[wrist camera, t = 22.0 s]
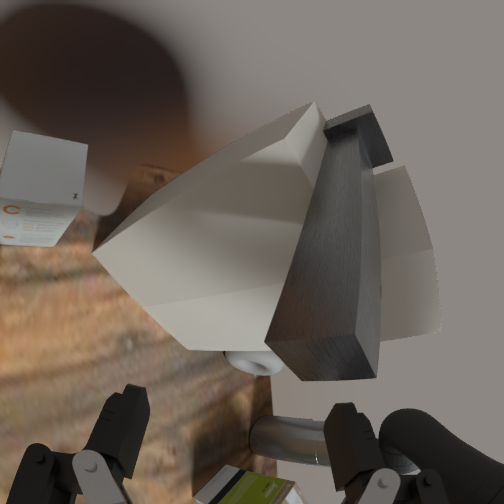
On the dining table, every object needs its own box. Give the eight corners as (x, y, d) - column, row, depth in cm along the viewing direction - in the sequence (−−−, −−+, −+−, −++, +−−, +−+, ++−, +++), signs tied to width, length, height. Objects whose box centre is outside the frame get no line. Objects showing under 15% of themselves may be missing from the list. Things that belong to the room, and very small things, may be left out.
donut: (250, 361, 49) (296, 361, 43) (245, 377, 47) (291, 379, 41) (217, 336, 44) (265, 334, 38) (210, 354, 42) (259, 355, 36)
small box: (56, 198, 27) (90, 143, 19) (54, 247, 26) (85, 208, 18) (2, 192, 20) (12, 127, 13) (-4, 244, 19) (-5, 198, 12)
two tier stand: (187, 349, 39) (441, 330, 19) (91, 253, 30) (385, 97, 10) (222, 284, 48) (424, 236, 29) (150, 195, 40) (367, 79, 20)
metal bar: (311, 390, 10) (431, 381, 7) (246, 323, 8) (423, 296, 5) (347, 161, 27) (388, 147, 24) (326, 121, 25) (369, 104, 22)
